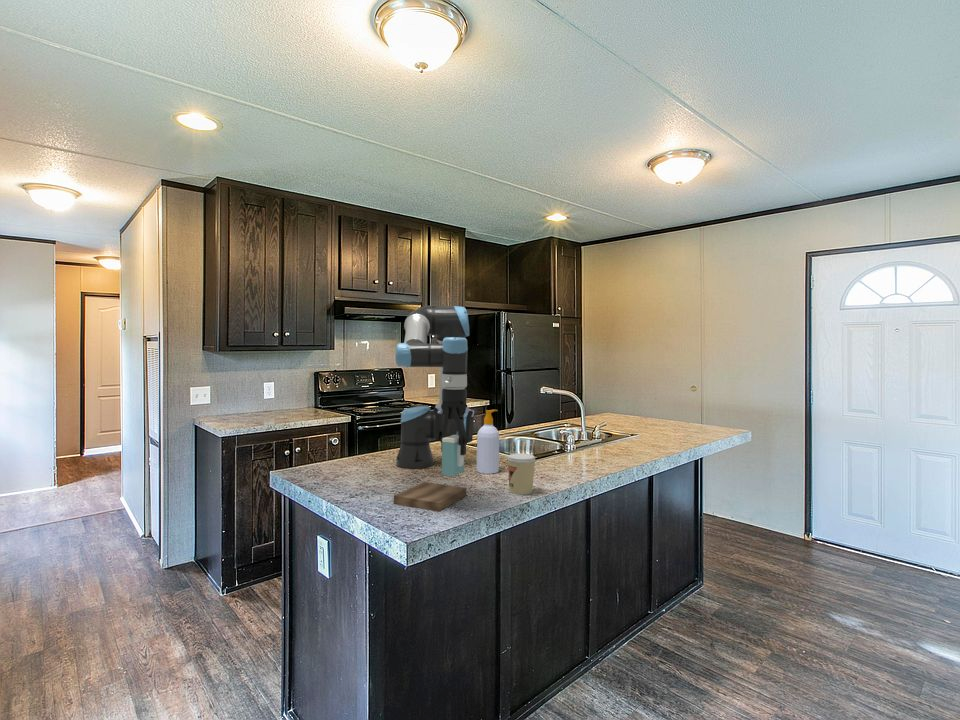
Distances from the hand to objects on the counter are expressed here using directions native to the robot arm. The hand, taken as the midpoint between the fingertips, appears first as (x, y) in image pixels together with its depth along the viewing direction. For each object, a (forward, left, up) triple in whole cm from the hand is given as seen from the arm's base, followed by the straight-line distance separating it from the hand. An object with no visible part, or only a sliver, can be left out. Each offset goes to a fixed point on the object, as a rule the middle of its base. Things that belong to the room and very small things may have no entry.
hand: (453, 464), depth 158 cm
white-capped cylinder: (+13, +24, -13) cm, 30 cm away
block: (0, 0, -3) cm, 3 cm away
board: (-9, +2, -13) cm, 16 cm away
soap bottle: (-8, +44, -13) cm, 47 cm away
